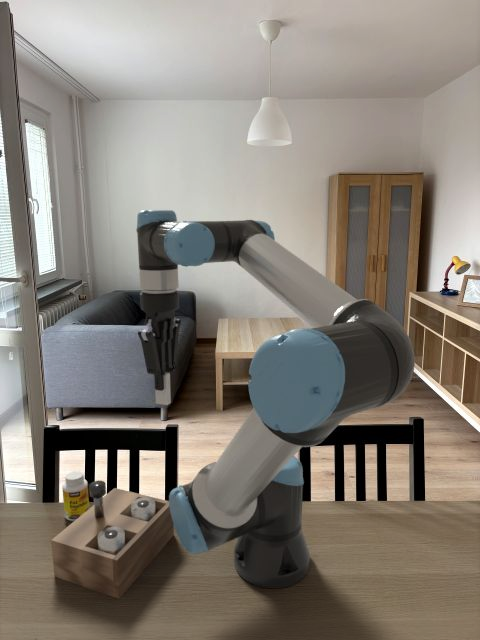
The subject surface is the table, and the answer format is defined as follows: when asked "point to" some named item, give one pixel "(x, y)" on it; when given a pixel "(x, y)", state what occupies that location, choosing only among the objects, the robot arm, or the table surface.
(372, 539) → the table surface
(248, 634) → the table surface
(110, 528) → the knob near
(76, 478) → the supplement bottle
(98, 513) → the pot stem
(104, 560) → the wooden box
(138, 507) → the knob far
